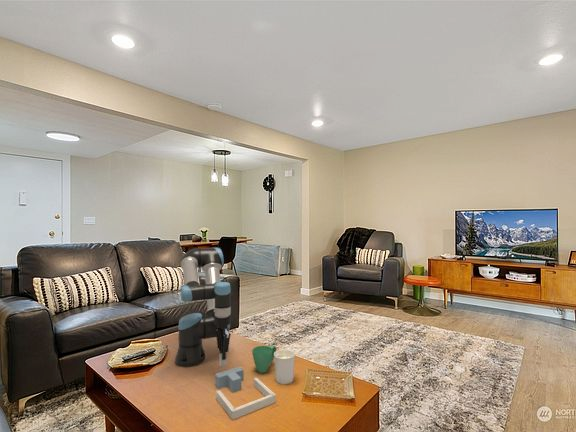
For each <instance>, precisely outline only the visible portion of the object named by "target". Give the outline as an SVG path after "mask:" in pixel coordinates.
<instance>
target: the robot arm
mask: <svg viewBox="0 0 576 432" xmlns="http://www.w3.org/2000/svg"><path fill="white" fill-rule="evenodd" d="M224 259H225V258H224V254H223V251H222V249H221V247H205V248H203V247H201V248H200V247H199V248H198V247H197V248H196V247H195V248H192V249H190V250H188V251H186V252H185V253H184V254H183V256H182V257H181V259H180V268H181V269H182V272H183V274H182V275H183V283H184V284H183V286H181V287H180V301H182V302H185V303H187V302H189V303H190V302H195V301H205V300H206V304H207V305H206V306H207V310H206V311H205V313H204V315H203V314H202V313H200V312H194V313H193V312H191V313H189V314H186V315H184V316H182V317H181V318H180V319H179V321H178V328H177V329H178V348H177V351H176V353H175V358H174V362H175V363H174V364H175V365H176V366H178V367H182V368H188V367H189V368H190V367H193V366H194V367H195V366H199V365H201V364H202V363H203V362H205V360H206V351H205V350H204V347H203V340H207V339H212V338H216V347H217V349H218V353H219V367H220V368H221V367H225V366H227V353H229V349H230V347H229V346H230V338H231V333H230V328H231V322H232V321H231V320H232V319H231V318H232V317H231V313H232V312H231V311H232V306H231V293H232V291H231V290H232V289H231V283H230V282H228V281H222V280H221V275H220V273H221V272H220V271H221V269H222V267H223V266H224V264H225V263H224V262H225V260H224ZM198 268H201V271H202V272H203V273H204V278H205V284H201V283H200V279H199V272H198Z"/></svg>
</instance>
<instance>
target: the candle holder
mask: <svg viewBox="0 0 576 432" xmlns="http://www.w3.org/2000/svg"><path fill="white" fill-rule="evenodd" d="M295 359H296V353H295V351H294V350H292V349H288V348H282V349H278V350H277V349H276V352H275V353H274V359H273V361H274V374H275V375H274V376H275V377H274V378H275V381H276V382H277V383H278V384H280V385H289V384H291V383H293V381H294V379H295V378H294V376H295V362H296V360H295Z"/></svg>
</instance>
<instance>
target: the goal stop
mask: <svg viewBox="0 0 576 432" xmlns="http://www.w3.org/2000/svg"><path fill="white" fill-rule="evenodd" d="M253 386H254V387H255V388H256V389H257V390H258V391H259V392H260V393H261V394H263V397H261V398H258V399H255V400H252V401H251V402H247V403H245V404H242V405H240V406H237V407H235V406H233V405H232V403H231V402H230V401H229V399H228V398H227V397H226V396H225V395H224V393H223V392H222V391H221V390H220V389H218V390H216V391H215V396H216V397H215V398H216V400H217V402H218V403H219V404H220V406H221V407H222V408H223V410H224V411H225V412H226V413H227V415H228V416H229V418H230V419H231V420H236V419H238V418H241V417H243V416H246V415H248V414H250V413H253V412H255V411H256V412H257V411H258V410H260V409H263V408H266V407H267V406H270V405H273V404H275V403H276V401H277V400H276V396H277V395H276V393H275V392H273V390H271V389H270V388H269V387H268V386H267V385H265V384H264V383H263V382H262V381H261V379H259V378H258V377H254V378H253Z"/></svg>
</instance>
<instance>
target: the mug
mask: <svg viewBox="0 0 576 432" xmlns="http://www.w3.org/2000/svg"><path fill="white" fill-rule="evenodd" d="M276 351H277V348H276V346H275V344H274V345H273V344H272V345H270V346H269V345H260V346H259V345H258V346H255V347H253V348H252V350H251V352H252V358H253V363H254V365H255V369H256V371H257V372H258V373H259V374H264V373H267V372H268V369H269V367H270V365H271V364H272V362H273V361H274V353H275V352H276Z"/></svg>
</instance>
